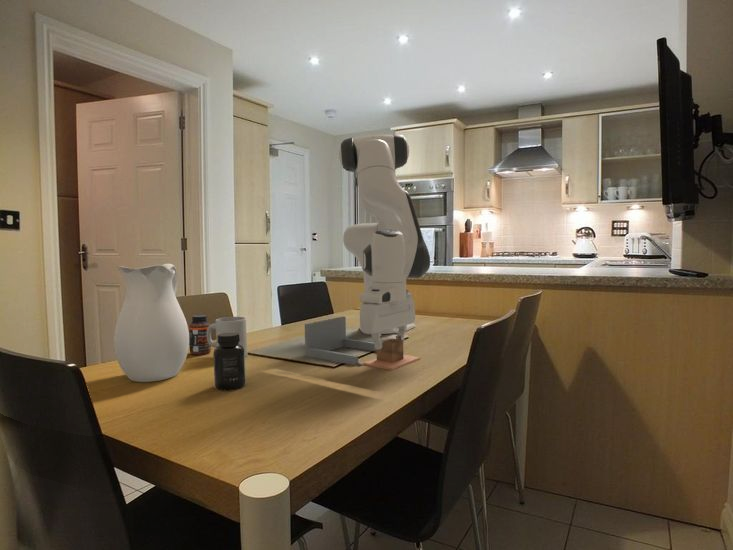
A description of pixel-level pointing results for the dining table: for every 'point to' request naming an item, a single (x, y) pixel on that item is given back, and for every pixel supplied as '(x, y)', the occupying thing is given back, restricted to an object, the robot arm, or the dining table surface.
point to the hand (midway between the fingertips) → (389, 345)
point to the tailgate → (390, 365)
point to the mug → (229, 330)
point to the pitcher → (151, 325)
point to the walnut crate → (391, 350)
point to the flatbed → (332, 341)
